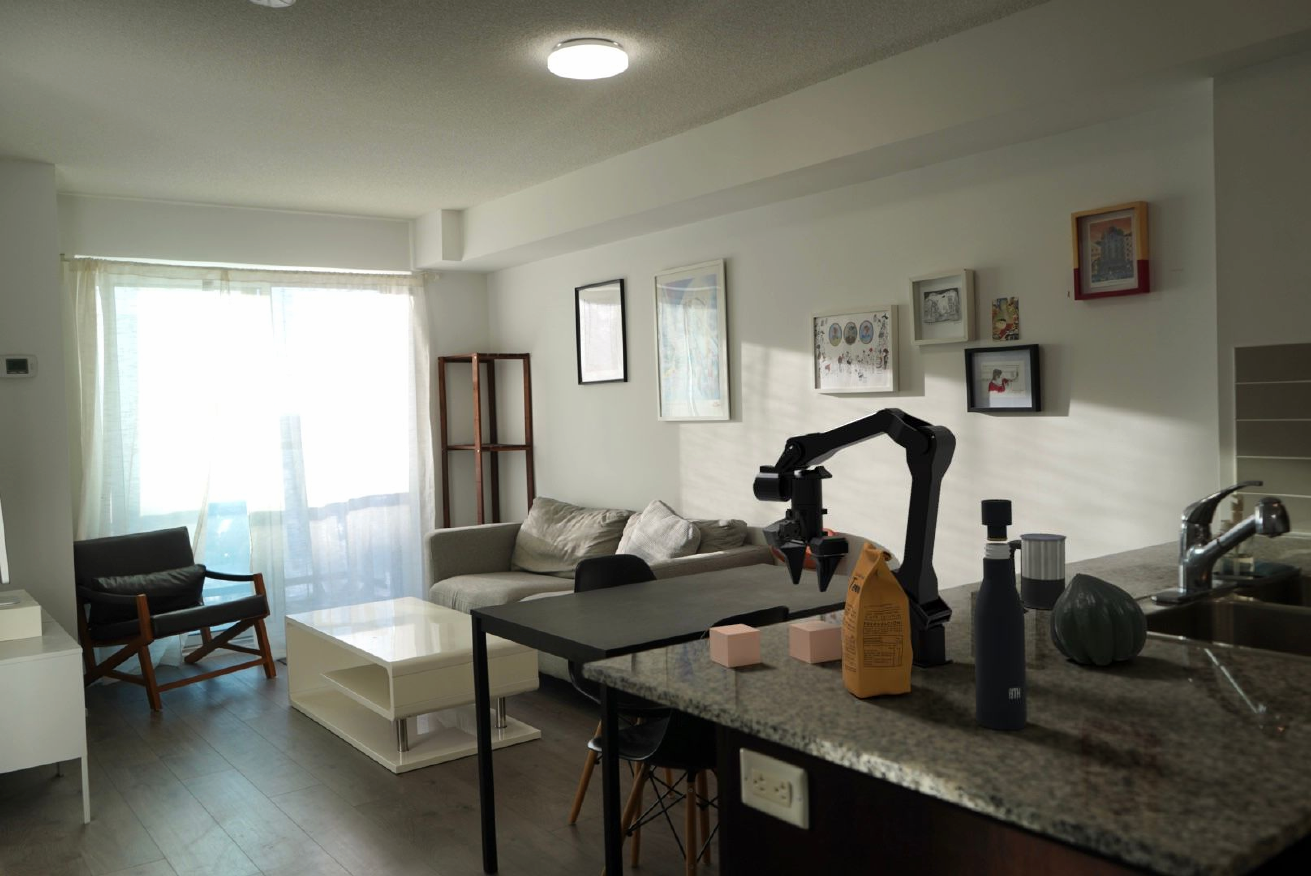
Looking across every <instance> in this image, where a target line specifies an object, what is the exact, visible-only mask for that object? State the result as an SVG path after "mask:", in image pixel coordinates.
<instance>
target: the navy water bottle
mask: <svg viewBox="0 0 1311 876" xmlns="http://www.w3.org/2000/svg"><path fill="white" fill-rule="evenodd" d="M980 504H981V505H980V508H981V509H980V511H981V525H982V526H986V536H987V537H986V540H987V541H989V542H987V543H985V544H984V545H985V546H984V550H985V551H984V555H985V556H984V557H983V558H982V569H983V570H982V571H983V572H982V573H983V574H982V575H983V576H982V581H981V583H980V587H979V590H978V593H977V597H976V601H975V606H974V613H973V614H974V615H973V630H974V631H973V632H974V633H973V634H974V668H975V669H974V670H975V671H974V673H975V677H974V678H975V711H976V712H975V713H976V715H975V716H976V719H975V720H976V723H977V724H978V725H979V726H982V727H984V728H986V727H987V729H991V730H996V729H997V731H1016V730H1021V729H1023V728H1025V727H1026V726H1027V725H1028V717H1027V716H1028V715H1027V714H1028V713H1027V709H1028V707H1027V674H1026V673H1027V672H1026V670H1027V669H1026V666H1027V665H1026V632H1025V631H1026V629H1025V628H1026V624H1025V623H1026V622H1025V615H1024V609H1023V608H1022V604H1021V601H1022V599H1021V595H1020V594H1019V592H1018V589H1017V584H1016V585H1015V583H1014V580H1013V560H1012V558H1011V557H1009V555H1010V554H1011V553H1010V552H1009V550H1010V549H1011V548H1010V547H1009V544H1007V543H1008V542H1006V541H1007V540H1008V528H1007V527H1009V526H1012V525H1013V512H1012V511H1013V509H1012V506H1013V505H1012V500H1010V499H1004V498H1002V499H999V498H994V499H993V498H991V499H988V498H987V499H983V500H980ZM1005 542H1006V543H1005Z"/></svg>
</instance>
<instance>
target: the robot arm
mask: <svg viewBox="0 0 1311 876" xmlns="http://www.w3.org/2000/svg"><path fill="white" fill-rule="evenodd" d="M882 435H887V436H888V437H890V439H891V440H892V441H893V442H894V443H895V444H897V445H898V446H900V447H902V448H904V449H905V461H906V464H907V468H908V470H909V473H910V476H911V486H910V496H909V504H908V515H907V522H906V533H905V541H904V542H905V543H904V550H903V559H902V562H901V564H900V566H899V567H898V568H894V569H890V571H891V573H892V574H893V575H894V577H895V578H896V580H897V581H898V583H899V584H900V586H901V587H902V589H903V590H904V592H905V594H906V596H907V598H908V600H909V618H910V640H911V647H912V652H913V660H912V665H917V666H919V667H923V668H925V667H932V666H937V665H943V664H950V663H953V662H954V659H953V658H952V657H947V656H946V654H947V653H946V651H947V649H946V626H945V625H944V624H945V623H948V622H950V621H951V619H952V618H951V617H952V615H953V609H952V608H951V607H950V606H949V605H948V604H947V602H946V601H945V600H944V599H943V598H942V597H941V595H940V594H939V582H938V581H939V580H938V577H937V573H936V571H935V568H934V564H933V560H934V559H933V557H934V549H935V540H936V531H937V523H938V514H939V505H940V498H941V497H940V495H941V487H942V481H943V478H944V476H945V475H946V474H947V471H948V470H949V468H950V466H951V464H952V461H953V457H954V453H955V450H956V446H957V439H956V434H953V432H952V431H951V429H949V428H948V427H947V426H944V425H934V424H932V423H931V422H929V421H926V420H924V419H922V418H919V417H917V416H914V415H912V414H910V413H907V412H905V411H904V410H902V409H901V408H899V407H883V408H880V409H879V410H877V411H876V412H874V413H869V414H868V415H865V416H863V417H860V418H857V419H855V420H852V421H849V422H847V423H844V424H842V425H839V426H836V427H833V428H831V429H828V430H825V431H817V432H811V433H804V434H803V433H802V434H797V435H792V436H790V437H789V438H788V439H786V441H785V444H784V445H785V446H784V449H783V452H782V453H781V455H780V456H779V458H778V460H777V462H776V463H775V465H770V464H768V465H767V464H766V465H765V464H764V465H760V466H759V472H758V473H757V474H756V475H755V478H754V481H753V482H752V483H753V484H752V491H753V495H754V496H755V498H756V499H757V500H758V501H759V502H760V501H761V502H772V503H774V502H775V503H776V502H777V503H787V502H790V508H786V510H785V512H784V514H785V517H783V518H781V519H779V520H777V521H775V522H773V523H771V524H768V525H767V526H765V527H763V528H762V529H761V531H762V533H763V536H764V539H765V541H766V544H767V545H766V546H772V548H773V549H774V550H775V551H777V552H778V554H780V555H781V556H782V557H783V559H784V561H785V565H786V568H787V570H788V573H789V576H790V580H791V583H792V585H794V586H795V585H796V586H797V585H799V584H800V581H801V577H802V572H803V570H804V569H803V568H804V563H805V559H806V554H807V549H809V551H810V553H811V554H809V558H811V560H812V561H813V562H814V563H815V566H816V575H817V576H816V577H817V583H818V590H819V592H820V593H825V592H826V591H827V589H828V587H829V585H830V583H831V581H832V579H833V577H834V575H835V572H836V570H837V568H838V566H839V564H840V563H841V561H842V559H843V558H845V557H846V554H849V553H850V541H849V540H848V539H847V538H846V537H844V536H839V535H829V531H828V530H824V515H828V508H824V506H823V505H824V504H823V480H828V479H832V478H833V474H832V473H831V472H830V471H829V470H827V469H826V468H825V466H824V465H821V464H822V463H825V461H827V460H829V459H831V458H832V457H834V456H835V454H837V453H838V452H840V451H841V450H844V449H846V448H849V447H851V446H852V447H853V446H855V445H858V444H860V443H863V442H865V441H868V440H871V439H875V438H877V437H881V436H882ZM812 466H815V467H814V468H813V469H810V468H811V467H812ZM797 471H798V472H797ZM795 472H797V474H796V473H795Z"/></svg>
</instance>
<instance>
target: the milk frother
mask: <svg viewBox="0 0 1311 876" xmlns="http://www.w3.org/2000/svg"><path fill="white" fill-rule="evenodd" d="M1019 538H1020V539H1013V540H1010V541H1007V542H1006V543H1007V544H1009V547H1010V548H1011V549H1010V550H1009V552H1010V553H1011V554H1010V555H1009V557H1011V558H1012V560H1013V580H1014V583H1015V585H1016V586H1017V577H1016V575H1017V574H1016V557H1015V553H1016V551H1017V550H1020V599H1021V604H1022V608H1023V610H1024V609H1025V607H1027V608H1031V609H1037V610H1038V609H1040V610H1053V608H1054V606H1055V604H1056V602H1057V600H1058V599H1059V597H1060V596H1061V594H1062V593H1063V592H1064V590H1065V589H1066V539H1067V538H1068V537H1067V536H1066V535H1064V534H1063V535H1061V534H1054V533H1038V532H1037V533H1024V534H1020V535H1019Z"/></svg>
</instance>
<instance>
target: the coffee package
mask: <svg viewBox="0 0 1311 876" xmlns="http://www.w3.org/2000/svg"><path fill="white" fill-rule="evenodd" d="M891 560H893V556H892V555H891V552H889V551H887V550H884V549H877V547H876V546H875V545H874V544H873V543H872V542H871V541H865V542H864V544H863V547H862V549H861V553H860V555H859V558H858V559H857V562H856V565H855V568H854V570H853V572H852V575H851V577H850V581H849V584H848V588H847V591H846V592H847V593H846V599H845V607H844V611H843V617H842V626H841V647H842V659H841V665H842V667H841V668H842V680H843V683H844V684H845V687H846V689H847V691H848V692H849V693H850V694H853V695H854V696H856V697H857V698H863V699H865V698H869V697H878V696H883V695H900V694H904V693H910V692H912V691H911V690H912V687H911V680H912V679H911V678H912V677H911V674H912V673H911V672H912V667H913V663H912V660H913V652H912V647H911V640H910V618H909V600H908V598H907V596H906V594H905V592H904V590H903V589H902V587H901V586H900V584H899V583H898V581H897V580H896V578H895V577H894V575H893V574H892V573H891V571H890V570H891V569H890V568H889V566H888V563H887V562H890V561H891Z"/></svg>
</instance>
